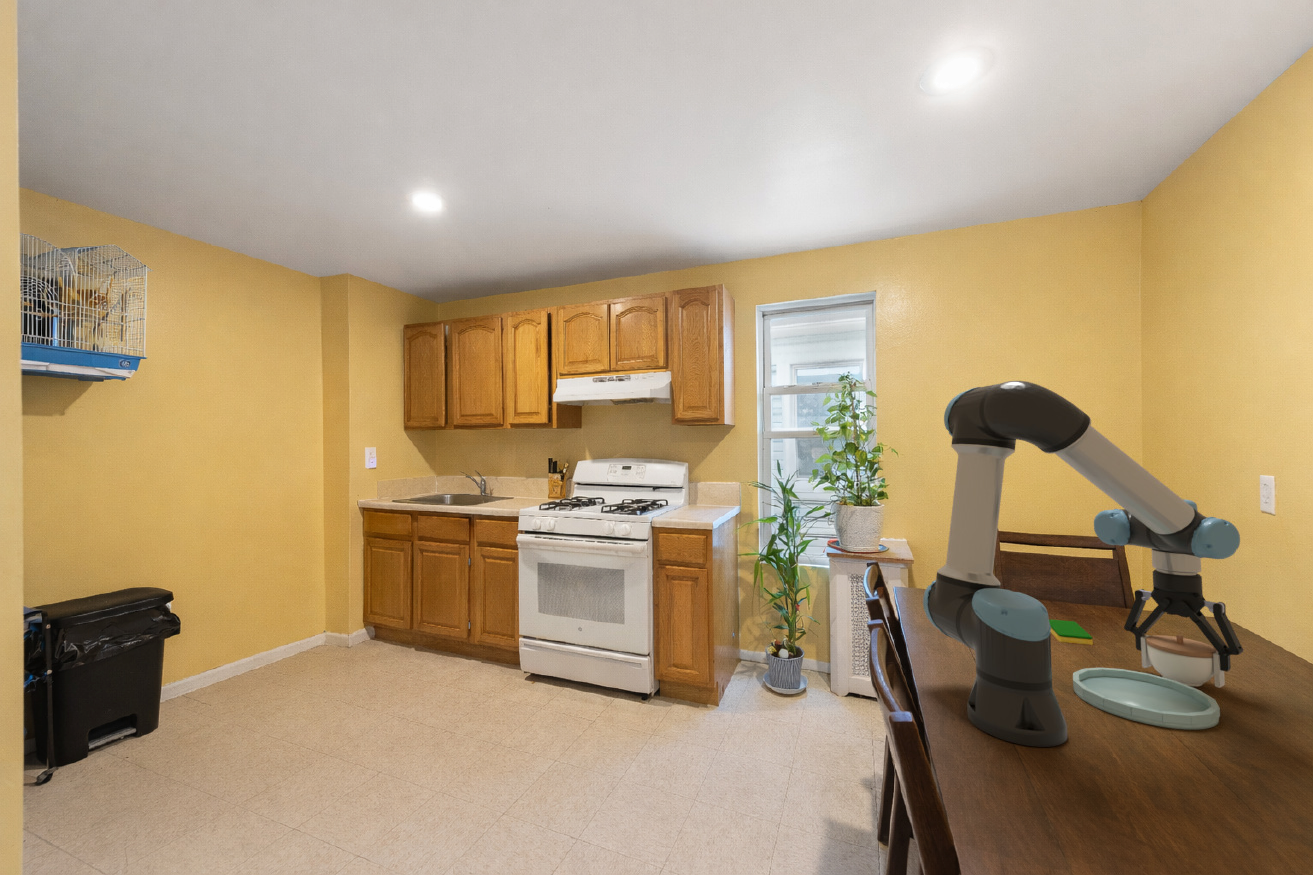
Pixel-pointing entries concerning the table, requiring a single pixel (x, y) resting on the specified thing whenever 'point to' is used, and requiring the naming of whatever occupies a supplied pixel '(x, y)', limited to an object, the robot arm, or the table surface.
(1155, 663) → the lidded jar
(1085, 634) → the dish sponge
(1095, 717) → the table surface
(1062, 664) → the table surface
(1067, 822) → the table surface
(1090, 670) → the round tray
